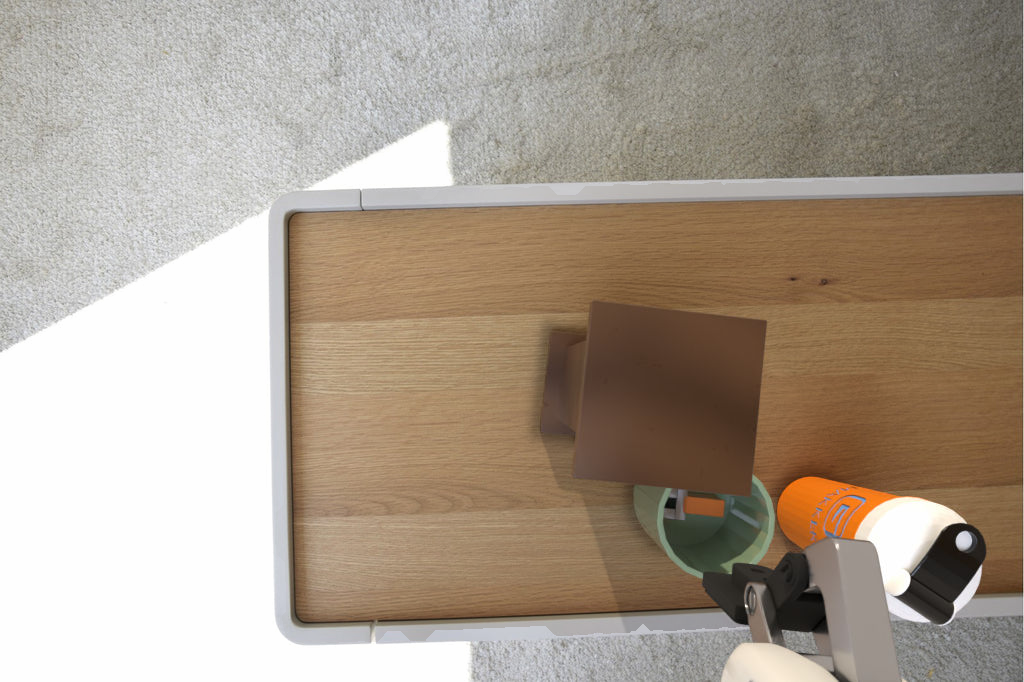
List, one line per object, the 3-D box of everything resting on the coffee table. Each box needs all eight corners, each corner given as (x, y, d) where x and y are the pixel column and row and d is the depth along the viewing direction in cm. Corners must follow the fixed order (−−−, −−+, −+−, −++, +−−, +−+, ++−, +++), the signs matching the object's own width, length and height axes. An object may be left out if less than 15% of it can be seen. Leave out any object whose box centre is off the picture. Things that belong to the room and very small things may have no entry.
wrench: (715, 487, 65) (725, 492, 62) (712, 517, 65) (723, 524, 62) (651, 480, 65) (658, 485, 62) (648, 511, 65) (655, 517, 62)
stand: (638, 442, 66) (750, 497, 37) (539, 430, 65) (573, 477, 36) (648, 342, 66) (767, 320, 37) (550, 331, 66) (592, 299, 37)
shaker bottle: (868, 489, 66) (1030, 540, 46) (833, 571, 65) (982, 659, 45) (788, 452, 66) (915, 487, 46) (752, 534, 65) (865, 605, 45)
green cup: (727, 553, 65) (769, 586, 55) (628, 542, 65) (651, 573, 55) (736, 453, 66) (780, 467, 56) (638, 442, 66) (663, 454, 56)
